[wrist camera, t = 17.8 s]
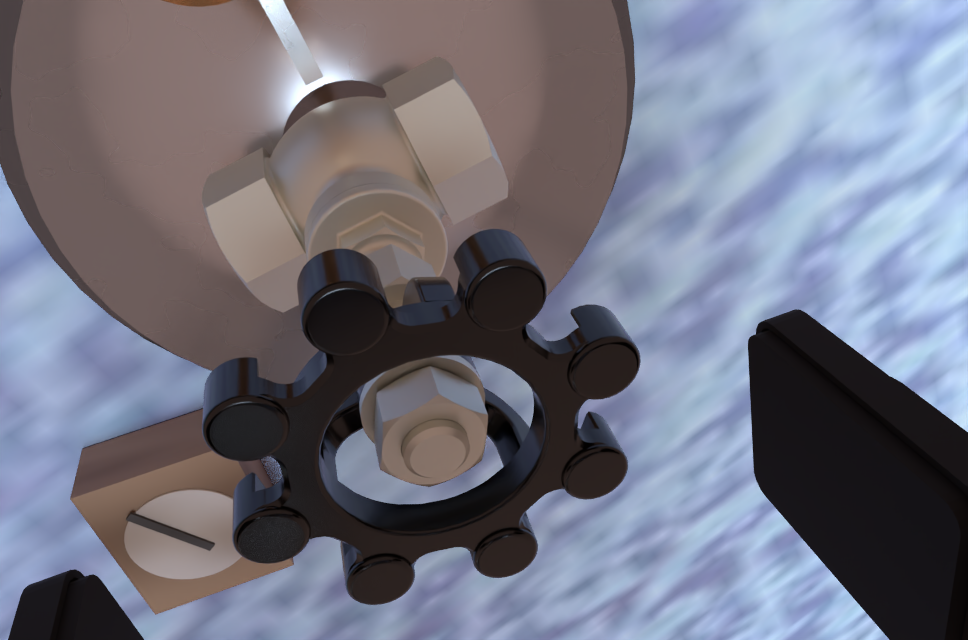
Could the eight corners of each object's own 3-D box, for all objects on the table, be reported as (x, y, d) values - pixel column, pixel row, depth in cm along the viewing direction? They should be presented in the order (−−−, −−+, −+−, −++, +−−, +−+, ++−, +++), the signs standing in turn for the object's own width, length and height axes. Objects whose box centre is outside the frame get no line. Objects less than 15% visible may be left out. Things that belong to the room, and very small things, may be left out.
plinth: (651, 283, 29) (657, 289, 29) (169, 445, 27) (168, 454, 27) (587, -339, 19) (596, -343, 19) (-188, -151, 17) (-198, -150, 17)
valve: (165, 104, 19) (86, 413, 10) (404, -21, 19) (567, 164, 9) (304, 300, 23) (347, 660, 14) (504, 197, 23) (692, 488, 13)
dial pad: (289, 517, 30) (294, 569, 28) (160, 562, 30) (155, 619, 28) (228, 400, 27) (229, 448, 25) (82, 449, 26) (69, 503, 24)
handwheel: (663, -153, 21) (918, -144, 13) (558, 357, 29) (678, 551, 21) (-35, -270, 16) (-278, -364, 8) (68, 377, 24) (-10, 636, 16)
